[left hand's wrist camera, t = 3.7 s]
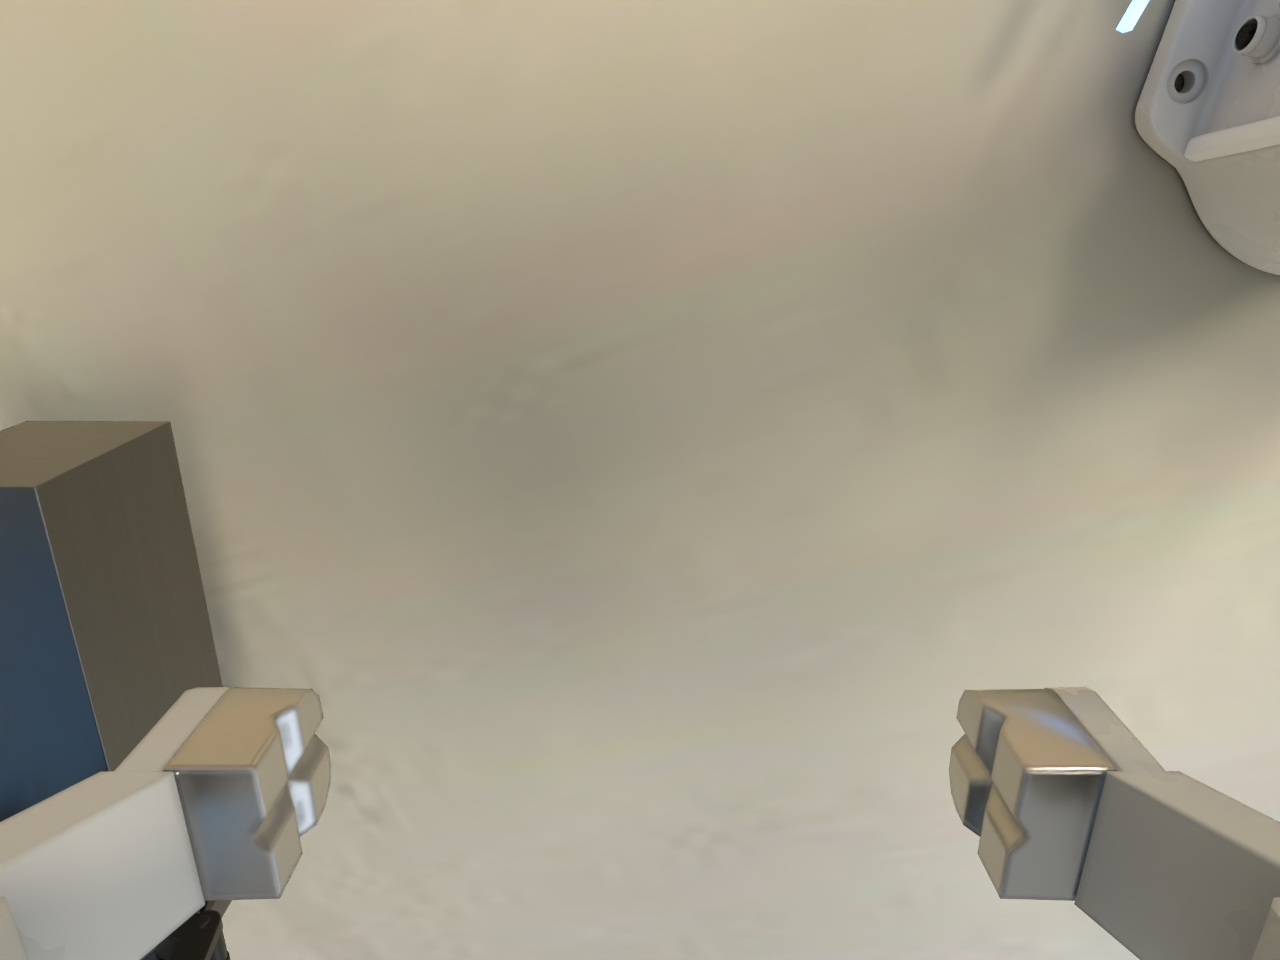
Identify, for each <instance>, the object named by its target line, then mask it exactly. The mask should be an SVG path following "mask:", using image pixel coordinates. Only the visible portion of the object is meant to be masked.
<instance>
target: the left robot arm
mask: <svg viewBox="0 0 1280 960" xmlns="http://www.w3.org/2000/svg"><path fill="white" fill-rule="evenodd" d="M1148 2H1149V0H1133V1H1132V2H1131V4H1130V6H1129V8H1128V9H1127V11H1126V13H1125V14H1124V16H1123V18H1122V20H1121V21H1120V23H1119V25H1118V27H1117V28H1116V30H1118V31H1120V32H1122V33H1124V32H1128V31H1131V30H1132V29H1133V28H1134V26H1135V24H1136V22H1137V21H1138V19H1139V17H1140V15H1141V14H1142V12H1143V10H1144V9H1145V7H1146V5H1147V3H1148ZM1180 73H1181V74H1182V75H1183V76H1184V79H1185V83H1184V87H1183V88H1182V90H1181V91H1180V92H1177V91H1176V89H1175V86H1174V83H1175V79H1176V77H1177V76H1178V75H1179V74H1180ZM1135 125H1136V129H1137V131H1138V133H1139V134H1140V136H1141V138H1142V139H1143V140H1144V141H1145V142H1146V143H1147V144H1148V145H1149V146H1150V147H1151V148H1152V149H1153V150H1154V151H1155V152H1156V153H1157V154H1159V155H1160V156H1161V157H1162V158H1163V159H1165V160H1166V161H1167V162H1169V163H1170V164H1171V165H1172V166H1174V167H1175V168H1176V169H1177V171H1178V172H1179V174H1180V176H1181V177H1182V179H1183V181H1184V183H1185V186H1186V188H1187V190H1188V193H1189V195H1190V198H1191V200H1192V203H1193V205H1194V208H1195V210H1196V212H1197V214H1198V216H1199V218H1200V219H1201V221H1202V223H1203V224H1204V226H1205V227H1206V229H1207V230H1208V231H1209V233H1210V234H1211V235H1212V237H1213V238H1214V239H1215V240H1216V241H1217V242H1218V243H1219V244H1220V245H1221V246H1222V247H1223V248H1224V249H1225V250H1226V251H1228V252H1229V253H1230V254H1231V255H1233V256H1234V257H1236V258H1237V259H1239V260H1240V261H1242V262H1244V263H1245V264H1247V265H1250V266H1252V267H1254V268H1256V269H1259V270H1261V271H1264V272H1267V273H1271V274H1275V275H1280V0H1176V1H1175V3H1174V6H1173V9H1172V11H1171V14H1170V17H1169V19H1168V22H1167V25H1166V28H1165V30H1164V33H1163V36H1162V38H1161V41H1160V44H1159V46H1158V49H1157V52H1156V55H1155V57H1154V60H1153V63H1152V65H1151V68H1150V71H1149V73H1148V76H1147V79H1146V82H1145V84H1144V87H1143V90H1142V92H1141V95H1140V98H1139V101H1138V103H1137V107H1136V111H1135ZM322 719H323V713H322V708H321V703H320V698H319V695H318V694H317V693H316V692H315V691H314V690H312V689H288V688H241V687H236V688H230V687H196V688H193V689H189V690H186V691H185V692H184V693H183V694H182V695H181V696H180V697H179V698H178V700H177V701H176V702H175V703H174V704H173V705H172V706H171V708H170V709H169V710H168V711H167V712H166V713H165V714H164V715H163V717H162V718H161V719H160V720H159V721H158V722H157V723H156V724H155V726H154V727H153V728H152V729H151V730H150V731H149V732H148V733H147V735H146V736H145V737H144V738H143V739H142V740H141V741H140V742H139V744H138V745H137V746H136V747H135V748H134V749H133V750H132V751H131V753H130V754H129V755H128V756H127V757H126V758H125V759H124V760H123V762H122V763H121V764H120V765H119V766H118V767H117V768H116V770H115V771H101V772H99V773H97V774H95V775H93V776H91V777H89V778H87V779H85V780H83V781H81V782H79V783H77V784H75V785H73V786H71V787H69V788H67V789H65V790H63V791H61V792H59V793H57V794H55V795H53V796H51V797H49V798H47V799H45V800H43V801H41V802H39V803H37V804H35V805H33V806H31V807H29V808H27V809H25V810H23V811H21V812H19V813H17V814H15V815H13V816H11V817H9V818H7V819H5V820H3V821H2V822H0V960H140V959H141V958H143V957H144V956H145V955H146V954H147V953H149V952H150V951H151V950H152V949H153V948H154V947H156V946H157V945H158V944H159V943H160V942H162V941H163V940H164V939H165V938H166V937H168V936H169V935H170V934H171V933H172V932H173V931H175V930H176V929H177V928H178V927H179V926H181V925H182V924H183V923H184V922H185V921H186V920H188V919H189V918H190V917H191V916H192V915H194V914H195V913H196V912H197V911H198V910H200V909H201V908H202V907H203V906H204V905H205V901H209V900H243V899H278V898H280V897H281V895H282V893H283V891H284V889H285V887H286V885H287V883H288V881H289V879H290V877H291V875H292V873H293V871H294V869H295V867H296V865H297V863H298V861H299V859H300V857H301V855H302V848H301V842H300V836H302V835H303V834H304V833H306V832H307V831H309V830H310V829H311V828H313V827H314V826H316V825H317V823H318V821H319V819H320V816H321V814H322V812H323V810H324V808H325V805H326V800H327V796H328V791H329V787H330V774H331V763H330V756H329V749H328V747H327V746H326V745H325V744H324V743H323V741H322V740H321V739H320V738H319V737H318V736H317V735H316V734H315V732H316V730H317V728H318V727H319V725H320V723H321V721H322ZM957 719H958V721H959V723H960V725H961V727H962V728H963V730H964V732H965V734H964V735H963V736H962V737H961V738H960V739H959V740H958V741H957V742H956V744H955V745H954V746H953V747H952V749H951V758H950V766H949V775H950V786H951V794H952V797H953V801H954V804H955V808H956V810H957V812H958V814H959V817H960V819H961V821H962V823H963V825H964V826H966V827H967V828H969V829H970V830H971V831H973V832H974V833H976V834H977V835H978V836H980V842H979V848H978V855H979V857H980V859H981V861H982V863H983V865H984V867H985V869H986V871H987V873H988V875H989V877H990V879H991V881H992V883H993V885H994V887H995V889H996V891H997V893H998V895H999V897H1000V899H1035V900H1071V901H1075V905H1076V906H1077V907H1079V908H1080V909H1081V910H1082V911H1083V912H1084V913H1086V914H1087V915H1088V916H1089V917H1090V918H1092V919H1093V920H1094V921H1095V922H1096V923H1097V924H1099V925H1100V926H1101V927H1102V928H1103V929H1105V930H1106V931H1107V932H1108V933H1109V934H1110V935H1112V936H1113V937H1114V938H1115V939H1116V940H1118V941H1119V942H1120V943H1121V944H1122V945H1123V946H1125V947H1126V948H1127V949H1128V950H1129V951H1131V952H1132V953H1133V954H1134V955H1135V956H1136V957H1138V958H1139V959H1140V960H1280V822H1278V821H1276V820H1274V819H1272V818H1270V817H1268V816H1266V815H1264V814H1262V813H1260V812H1258V811H1256V810H1254V809H1252V808H1251V807H1249V806H1247V805H1245V804H1243V803H1241V802H1239V801H1237V800H1235V799H1233V798H1231V797H1229V796H1227V795H1225V794H1223V793H1221V792H1219V791H1217V790H1215V789H1213V788H1211V787H1209V786H1207V785H1205V784H1203V783H1201V782H1199V781H1197V780H1195V779H1193V778H1191V777H1189V776H1187V775H1185V774H1183V773H1181V772H1179V771H1165V770H1164V768H1163V767H1162V766H1161V765H1160V764H1159V763H1158V762H1157V761H1156V759H1155V758H1154V757H1153V756H1152V755H1151V754H1150V753H1149V752H1148V750H1147V749H1146V748H1145V747H1144V746H1143V745H1142V744H1141V743H1140V741H1139V740H1138V739H1137V738H1136V737H1135V736H1134V735H1133V733H1132V732H1131V731H1130V730H1129V729H1128V728H1127V727H1126V726H1125V724H1124V723H1123V722H1122V721H1121V720H1120V719H1119V718H1118V717H1117V715H1116V714H1115V713H1114V712H1113V711H1112V710H1111V709H1110V708H1109V706H1108V705H1107V704H1106V703H1105V702H1104V701H1103V700H1102V699H1101V697H1100V696H1099V695H1098V694H1097V693H1096V692H1095V691H1093V690H1091V689H1089V688H1087V687H1060V688H1045V689H1002V690H965V691H964V693H963V695H962V697H961V699H960V701H959V707H958V712H957Z"/></svg>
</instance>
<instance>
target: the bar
mask: <svg viewBox="0 0 1280 960" xmlns="http://www.w3.org/2000/svg"><path fill="white" fill-rule="evenodd" d="M196 687H223V686H222V681H221V676H220V671H219V666H218V661H217V656H216V651H215V646H214V641H213V636H212V631H211V626H210V621H209V615H208V610H207V605H206V600H205V595H204V590H203V585H202V580H201V575H200V570H199V565H198V560H197V555H196V550H195V545H194V540H193V534H192V529H191V524H190V519H189V514H188V509H187V504H186V499H185V494H184V489H183V484H182V479H181V474H180V469H179V464H178V459H177V453H176V448H175V443H174V438H173V433H172V428H171V423H170V422H130V421H26V422H23V423H20V424H18V425H15V426H12V427H10V428H7V429H4V430H2V431H0V822H2V821H3V820H5V819H7V818H9V817H11V816H13V815H15V814H17V813H19V812H21V811H23V810H25V809H27V808H29V807H31V806H33V805H35V804H37V803H39V802H41V801H43V800H45V799H47V798H49V797H51V796H53V795H55V794H57V793H59V792H61V791H63V790H65V789H67V788H69V787H71V786H73V785H75V784H77V783H79V782H81V781H83V780H85V779H87V778H89V777H91V776H93V775H95V774H97V773H99V772H101V771H115V770H116V768H117V767H118V766H119V765H120V764H121V763H122V762H123V760H124V759H125V758H126V757H127V756H128V755H129V754H130V753H131V751H132V750H133V749H134V748H135V747H136V746H137V745H138V744H139V742H140V741H141V740H142V739H143V738H144V737H145V736H146V735H147V733H148V732H149V731H150V730H151V729H152V728H153V727H154V726H155V724H156V723H157V722H158V721H159V720H160V719H161V718H162V717H163V715H164V714H165V713H166V712H167V711H168V710H169V709H170V708H171V706H172V705H173V704H174V703H175V702H176V701H177V700H178V698H179V697H180V696H181V695H182V694H183V693H184V692H185V691H186V690H189V689H193V688H196ZM231 901H232V900H216V902H215V904H214V905H213V907H212V909H211V910H215V911H217V912H219V913H220V915H221V918H222V916H223V914H224V913H225V911H226V909H227V908H228V906H229V904H230V902H231ZM154 950H155V947H154V948H153V949H152V950H151V951H150V952H149V953H147V954H146V955H145V956H144V957H143V958H141V959H140V960H143V959H144V958H146V957H147V956H148V955H149V954H150V953H152V952H153V951H154Z"/></svg>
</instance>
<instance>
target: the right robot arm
mask: <svg viewBox="0 0 1280 960" xmlns="http://www.w3.org/2000/svg"><path fill="white" fill-rule="evenodd" d="M215 902H216V900H209V901H205V905H204V906H203V907H202V908H201V909H200V910H198V911H197V912H196V913H195V914H194V915H192V916H191V917H190V918H189V919H188V920H186V921H185V922H184V923H183V924H182V925H181V926H179V927H178V928H177V929H176V930H175V931H173V932H172V933H171V934H170V935H169V936H168V937H166V938H165V939H164V940H163V941H162V942H160V943H159V944H158V945H157V946H156V947H155V950H154V951H153V952H152V953H150V954H149V955H148V956H147V957H146V958H144V959H143V960H230V956H229V953H228V951H227V949H226V944H225V940H224V935H223V931H222V928H223V925H222V920H221V915H220V913H219V912H217V911H215V910H211V909H212V907H213V905H214V904H215Z"/></svg>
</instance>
